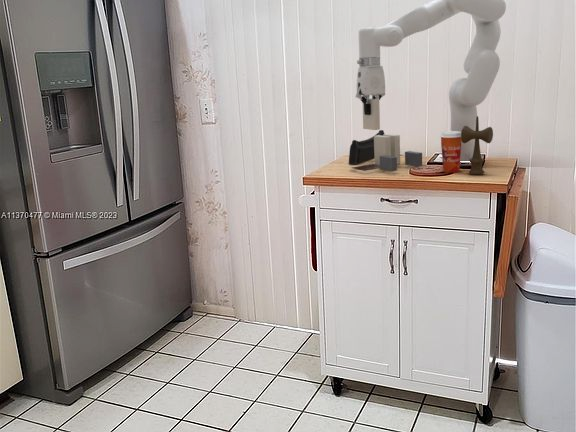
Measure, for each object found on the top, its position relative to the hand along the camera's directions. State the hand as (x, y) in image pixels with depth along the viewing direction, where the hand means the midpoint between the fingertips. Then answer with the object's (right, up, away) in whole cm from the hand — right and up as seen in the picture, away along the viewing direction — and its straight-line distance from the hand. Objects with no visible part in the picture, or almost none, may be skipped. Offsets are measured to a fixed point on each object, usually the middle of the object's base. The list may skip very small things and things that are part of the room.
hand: (371, 113), depth 219 cm
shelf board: (+3, -20, +9) cm, 22 cm away
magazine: (+3, -15, +26) cm, 30 cm away
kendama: (+35, -23, -13) cm, 44 cm away
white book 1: (0, -5, +1) cm, 6 cm away
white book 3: (+10, -17, +11) cm, 23 cm away
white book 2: (+6, -18, +9) cm, 21 cm away
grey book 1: (+6, -22, 0) cm, 23 cm away
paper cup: (+28, -22, -5) cm, 36 cm away
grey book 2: (+17, -19, +5) cm, 26 cm away
